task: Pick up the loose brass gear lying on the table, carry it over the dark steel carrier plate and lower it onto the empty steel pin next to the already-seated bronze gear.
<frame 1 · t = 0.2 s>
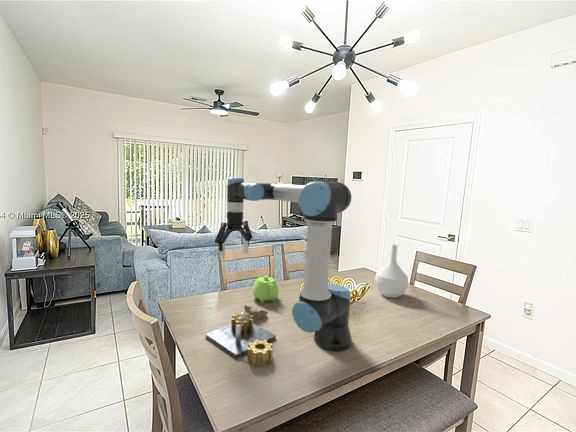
hand: (234, 255, 143), 28 cm above the table, fingers open, 13 cm apart
planet gear: (259, 359, 110), on the table
teapot: (265, 299, 164), on the table
stone: (254, 316, 143), on the table
carrier: (240, 338, 123), on the table
vase: (390, 295, 178), on the table
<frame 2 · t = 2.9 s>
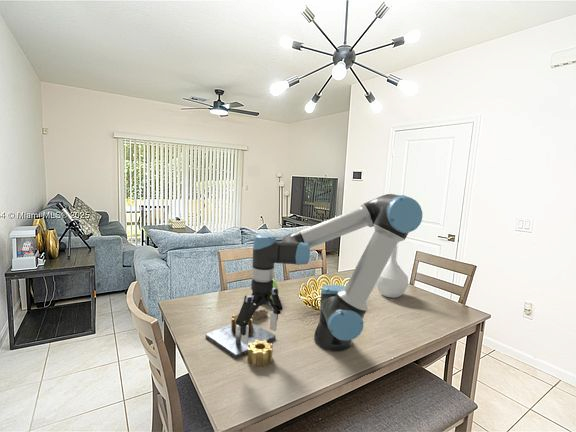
hand: (259, 336, 108), 9 cm above the table, fingers open, 13 cm apart
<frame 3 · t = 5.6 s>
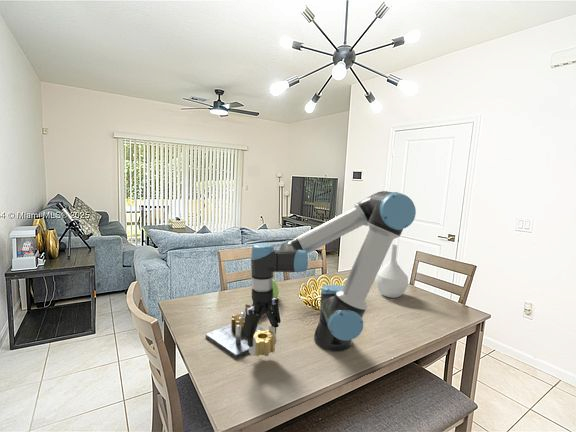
hand: (262, 348, 109), 4 cm above the table, fingers closed on planet gear, 9 cm apart
planet gear: (262, 349, 109), point 4 cm above the table, touching gripper
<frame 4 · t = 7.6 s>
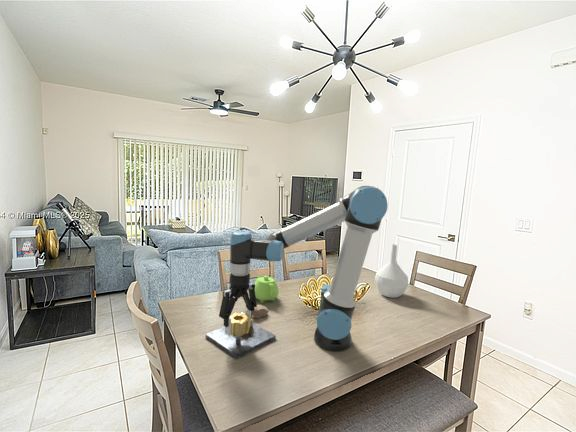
hand: (238, 329, 116), 7 cm above the table, fingers closed on planet gear, 9 cm apart
planet gear: (237, 330, 116), point 7 cm above the table, touching gripper
when the fingers open (2 cm above the table, at t = 9.5 s): planet gear stays where it is, resting on carrier.
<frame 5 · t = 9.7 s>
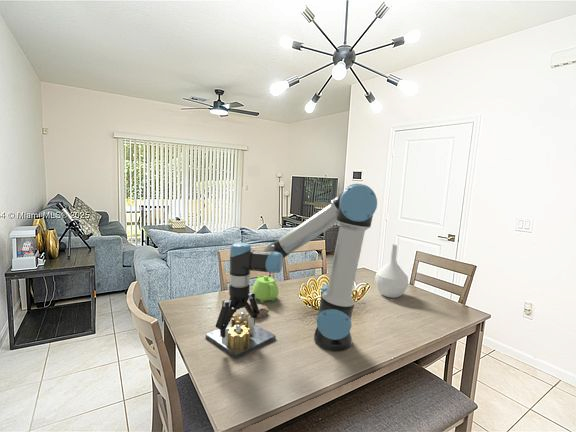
hand: (238, 338, 117), 3 cm above the table, fingers open, 12 cm apart
planet gear: (238, 342, 117), point 1 cm above the table, touching carrier
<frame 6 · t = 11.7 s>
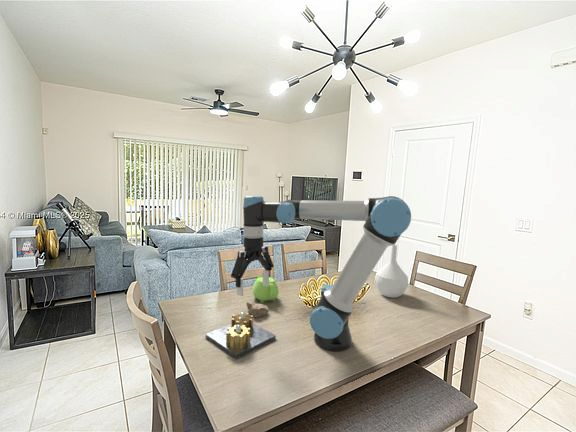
hand: (253, 290, 118), 21 cm above the table, fingers open, 13 cm apart
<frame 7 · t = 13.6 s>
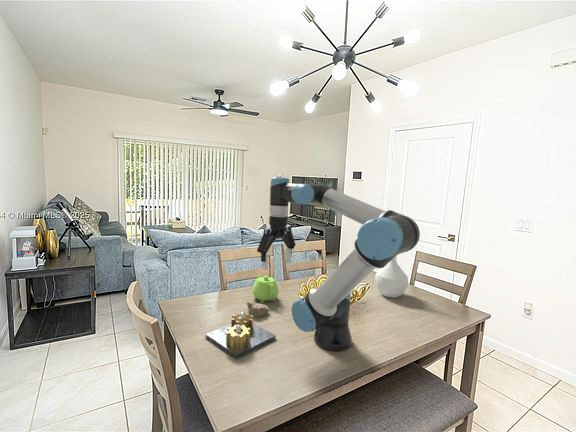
hand: (276, 266, 126), 29 cm above the table, fingers open, 13 cm apart
at the end: planet gear 0.0 cm from the target spot on the carrier, point 1.5 cm above the carrier's base; the gripper is holding nothing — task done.
